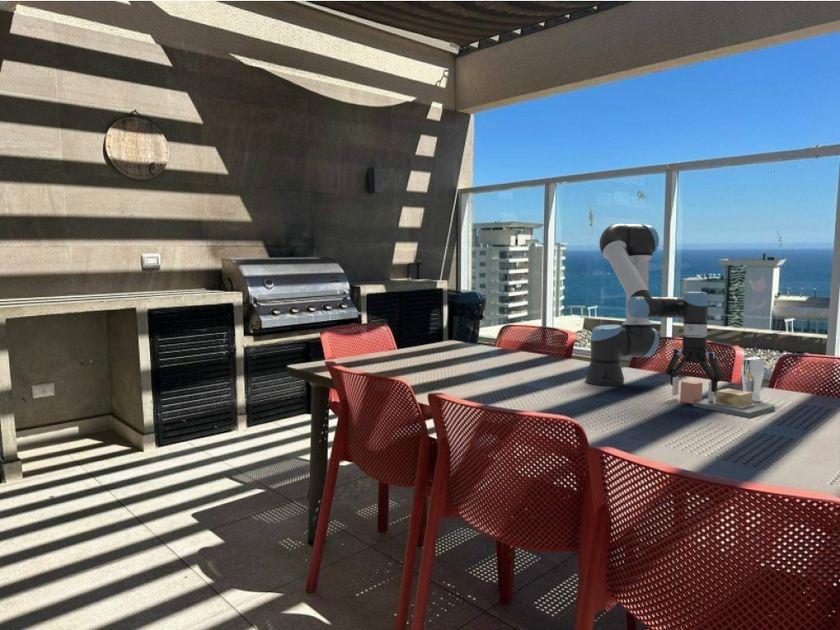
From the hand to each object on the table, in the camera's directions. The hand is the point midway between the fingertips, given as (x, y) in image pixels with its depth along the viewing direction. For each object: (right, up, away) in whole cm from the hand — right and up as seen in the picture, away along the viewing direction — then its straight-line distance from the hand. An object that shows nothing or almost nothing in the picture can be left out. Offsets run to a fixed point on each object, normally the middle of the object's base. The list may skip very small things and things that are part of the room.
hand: (692, 398), depth 197 cm
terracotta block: (0, -1, +1) cm, 2 cm away
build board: (+10, -2, -8) cm, 13 cm away
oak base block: (+10, -1, -8) cm, 13 cm away
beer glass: (+23, -2, +5) cm, 24 cm away
